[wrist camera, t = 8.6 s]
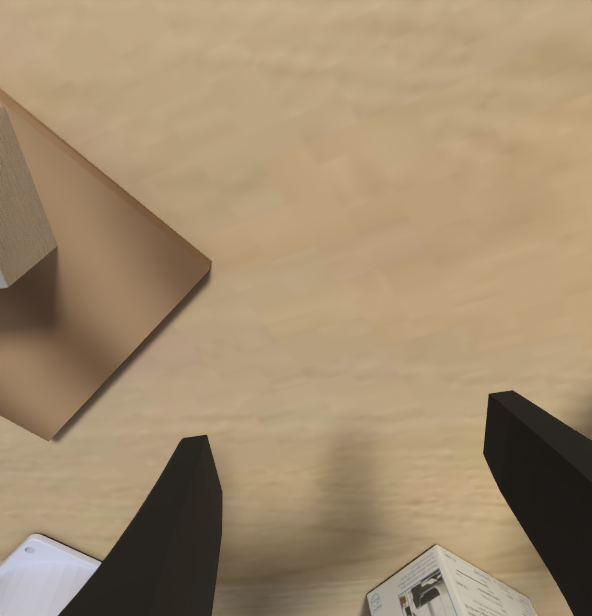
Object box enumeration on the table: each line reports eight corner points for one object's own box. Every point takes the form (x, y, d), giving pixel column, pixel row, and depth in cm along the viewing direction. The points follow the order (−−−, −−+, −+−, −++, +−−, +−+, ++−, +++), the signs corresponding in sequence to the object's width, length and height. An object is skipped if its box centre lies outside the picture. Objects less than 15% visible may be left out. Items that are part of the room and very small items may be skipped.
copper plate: (56, 427, 23) (48, 441, 22) (-212, 277, 18) (-236, 287, 18) (211, 261, 20) (209, 269, 19) (-70, 32, 15) (-90, 29, 14)
